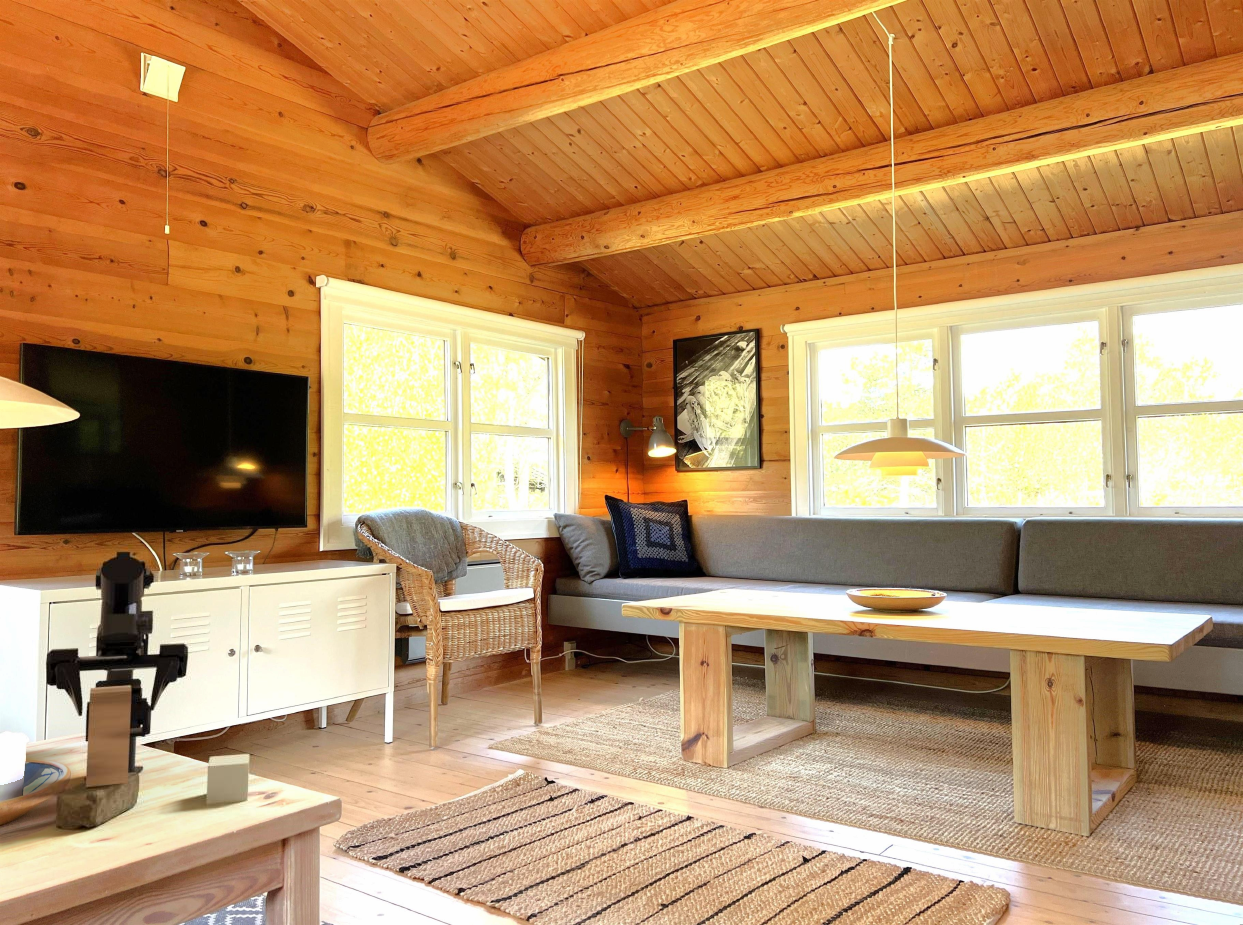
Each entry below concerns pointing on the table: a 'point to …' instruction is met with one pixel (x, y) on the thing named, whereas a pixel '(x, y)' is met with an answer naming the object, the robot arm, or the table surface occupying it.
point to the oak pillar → (108, 736)
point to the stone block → (95, 803)
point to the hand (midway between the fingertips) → (116, 711)
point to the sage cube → (228, 779)
